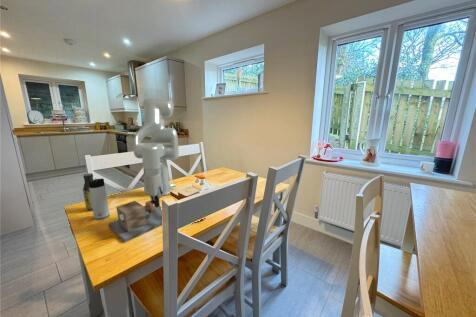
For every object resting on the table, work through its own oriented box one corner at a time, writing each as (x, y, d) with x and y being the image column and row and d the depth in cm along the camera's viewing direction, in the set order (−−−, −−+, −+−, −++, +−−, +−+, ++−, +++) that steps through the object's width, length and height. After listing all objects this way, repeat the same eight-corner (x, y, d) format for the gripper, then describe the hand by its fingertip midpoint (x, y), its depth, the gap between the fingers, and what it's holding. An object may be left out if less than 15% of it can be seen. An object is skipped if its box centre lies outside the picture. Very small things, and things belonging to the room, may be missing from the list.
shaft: (150, 210, 97) (148, 198, 95) (156, 213, 93) (155, 202, 92) (118, 222, 86) (116, 209, 84) (123, 226, 82) (122, 214, 81)
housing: (158, 207, 107) (156, 190, 104) (176, 218, 96) (175, 199, 93) (108, 226, 88) (105, 206, 86) (124, 242, 77) (121, 220, 75)
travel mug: (102, 221, 93) (95, 181, 89) (91, 219, 94) (84, 180, 90) (113, 214, 99) (107, 177, 95) (102, 213, 100) (96, 176, 96)
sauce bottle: (85, 208, 105) (79, 173, 101) (99, 205, 110) (93, 171, 105) (87, 212, 101) (80, 176, 96) (101, 208, 105) (95, 174, 101)
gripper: (137, 170, 93) (141, 205, 97) (152, 176, 84) (156, 214, 88) (152, 167, 99) (155, 200, 103) (168, 172, 90) (171, 208, 94)
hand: (155, 206), depth 96 cm, fingers closed
